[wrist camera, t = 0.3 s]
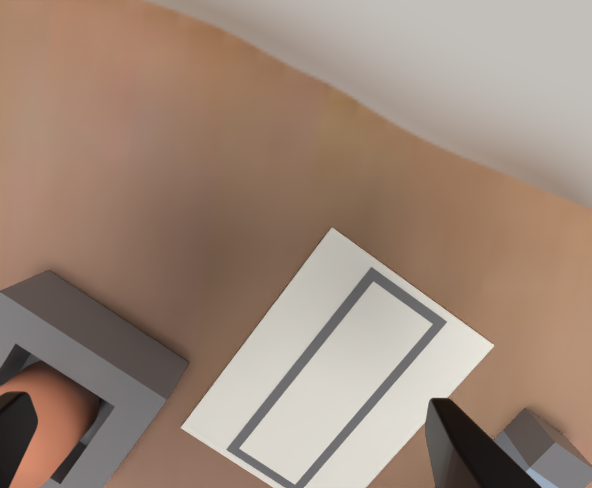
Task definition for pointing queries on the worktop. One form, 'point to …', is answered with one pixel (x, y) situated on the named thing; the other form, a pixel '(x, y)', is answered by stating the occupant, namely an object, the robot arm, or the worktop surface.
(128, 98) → the worktop surface
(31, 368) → the button
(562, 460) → the rectangular block
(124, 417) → the button housing
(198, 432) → the paper sheet
